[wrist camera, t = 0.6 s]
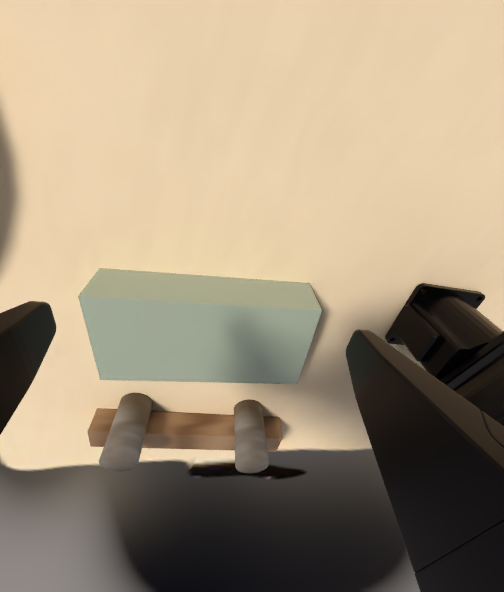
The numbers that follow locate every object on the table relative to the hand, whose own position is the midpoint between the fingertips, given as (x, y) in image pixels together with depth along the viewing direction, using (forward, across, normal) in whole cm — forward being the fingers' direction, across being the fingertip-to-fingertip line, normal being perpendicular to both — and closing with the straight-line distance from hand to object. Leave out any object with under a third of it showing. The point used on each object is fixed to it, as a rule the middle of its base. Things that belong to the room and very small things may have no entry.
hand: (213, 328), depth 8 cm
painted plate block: (+13, 0, +9) cm, 16 cm away
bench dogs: (+12, +1, +23) cm, 26 cm away
